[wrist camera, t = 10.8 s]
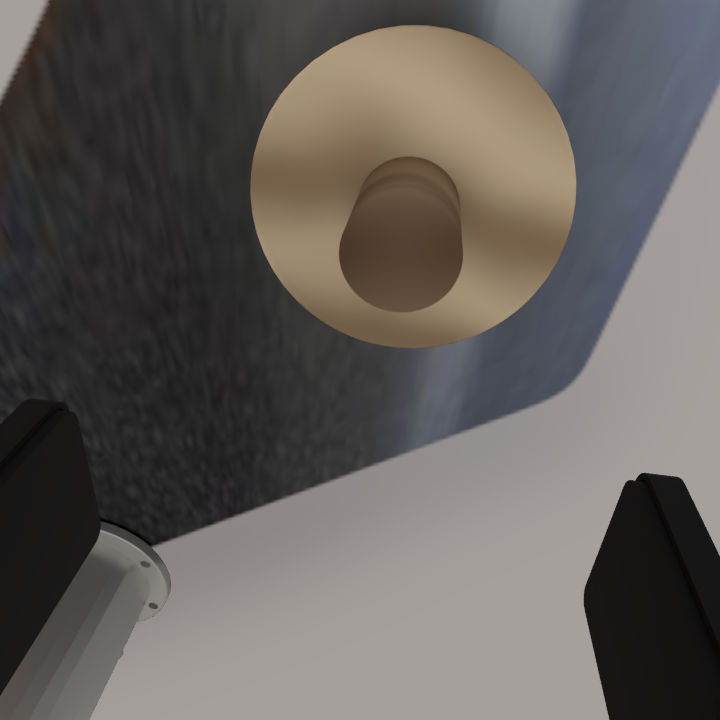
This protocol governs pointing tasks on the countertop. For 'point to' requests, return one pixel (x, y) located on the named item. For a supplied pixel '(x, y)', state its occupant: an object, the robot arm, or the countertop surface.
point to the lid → (413, 186)
